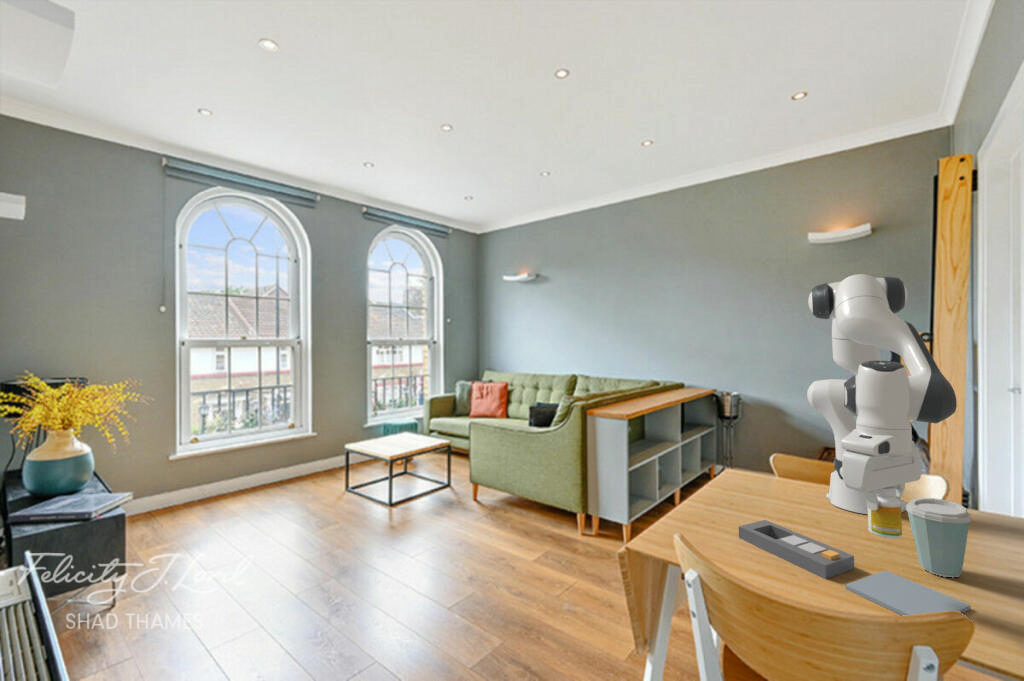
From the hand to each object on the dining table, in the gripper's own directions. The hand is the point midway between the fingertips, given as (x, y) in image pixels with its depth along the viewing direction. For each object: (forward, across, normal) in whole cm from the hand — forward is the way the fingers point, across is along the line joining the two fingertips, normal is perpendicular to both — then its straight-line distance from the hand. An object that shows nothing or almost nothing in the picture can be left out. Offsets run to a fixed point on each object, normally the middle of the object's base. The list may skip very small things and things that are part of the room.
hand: (884, 506), depth 91 cm
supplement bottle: (+6, 0, 0) cm, 6 cm away
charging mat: (+18, -1, +3) cm, 18 cm away
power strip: (+18, +2, -19) cm, 26 cm away
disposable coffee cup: (+18, -20, 0) cm, 26 cm away
